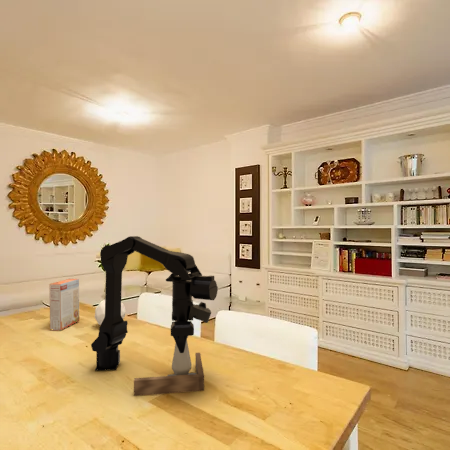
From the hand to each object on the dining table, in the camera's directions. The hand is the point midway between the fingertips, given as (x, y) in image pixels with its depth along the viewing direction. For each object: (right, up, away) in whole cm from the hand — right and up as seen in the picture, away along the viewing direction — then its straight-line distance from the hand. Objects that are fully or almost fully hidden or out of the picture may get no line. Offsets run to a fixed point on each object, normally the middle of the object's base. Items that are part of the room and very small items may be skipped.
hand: (181, 350), depth 94 cm
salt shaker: (0, -7, 0) cm, 7 cm away
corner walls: (-4, -9, +2) cm, 10 cm away
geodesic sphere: (-40, -10, +53) cm, 67 cm away
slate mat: (0, -9, 0) cm, 9 cm away
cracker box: (-61, -10, +54) cm, 82 cm away
